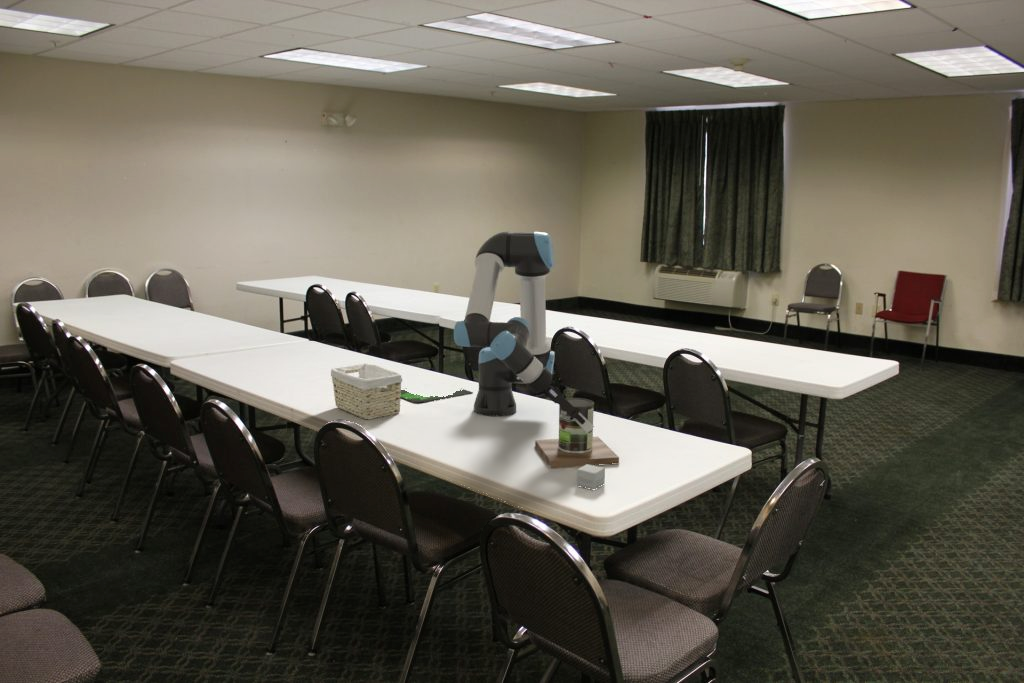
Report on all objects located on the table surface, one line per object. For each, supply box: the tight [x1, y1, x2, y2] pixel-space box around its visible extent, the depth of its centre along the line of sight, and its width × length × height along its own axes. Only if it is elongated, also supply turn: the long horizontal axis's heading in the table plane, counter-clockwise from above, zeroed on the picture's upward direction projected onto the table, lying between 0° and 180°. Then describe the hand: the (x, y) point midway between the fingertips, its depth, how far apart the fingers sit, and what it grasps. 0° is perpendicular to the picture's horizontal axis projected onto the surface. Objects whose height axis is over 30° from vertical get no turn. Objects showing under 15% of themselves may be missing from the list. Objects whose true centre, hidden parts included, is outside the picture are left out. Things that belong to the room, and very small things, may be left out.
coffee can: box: [558, 397, 595, 454], centre depth 232 cm, size 10×10×14 cm
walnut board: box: [534, 436, 620, 469], centre depth 233 cm, size 20×20×2 cm
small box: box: [575, 464, 606, 489], centre depth 208 cm, size 6×6×5 cm
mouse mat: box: [400, 388, 474, 404], centre depth 306 cm, size 27×22×1 cm
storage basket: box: [330, 362, 403, 420], centre depth 279 cm, size 24×16×15 cm
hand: (583, 422), depth 232 cm, fingers open, 13 cm apart
